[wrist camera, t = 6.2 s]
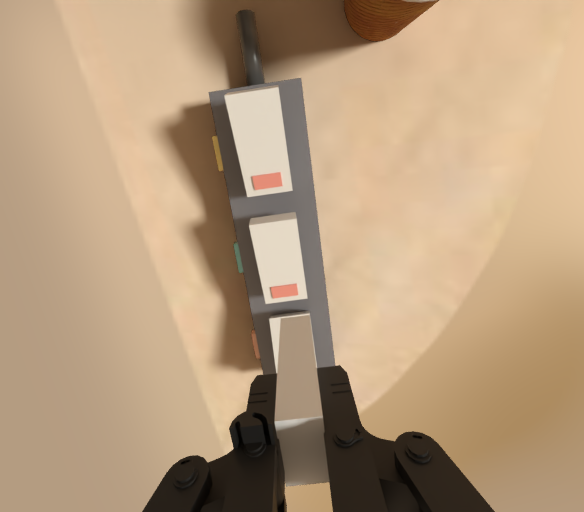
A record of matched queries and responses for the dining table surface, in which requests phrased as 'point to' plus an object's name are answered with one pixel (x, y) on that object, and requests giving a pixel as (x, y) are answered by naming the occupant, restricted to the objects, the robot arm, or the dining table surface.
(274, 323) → the cream rocker switch
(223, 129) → the power strip
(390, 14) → the disposable coffee cup
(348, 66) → the dining table surface
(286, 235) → the cream switch plate
